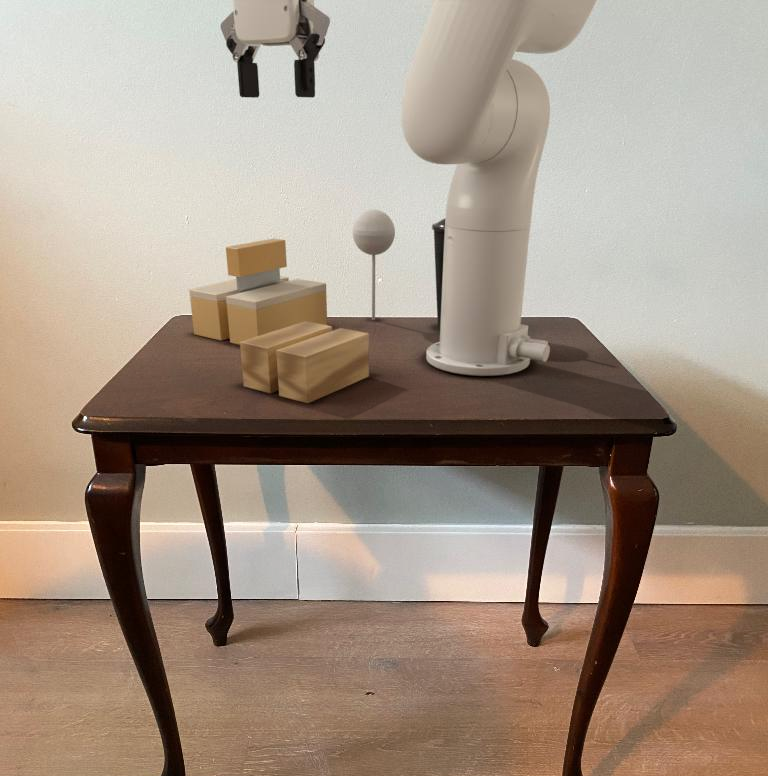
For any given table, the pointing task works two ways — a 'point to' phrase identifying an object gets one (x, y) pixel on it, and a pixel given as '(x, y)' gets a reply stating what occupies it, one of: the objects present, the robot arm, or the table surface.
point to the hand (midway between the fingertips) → (276, 97)
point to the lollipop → (373, 238)
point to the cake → (256, 308)
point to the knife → (256, 263)
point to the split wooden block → (305, 360)
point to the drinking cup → (439, 262)
